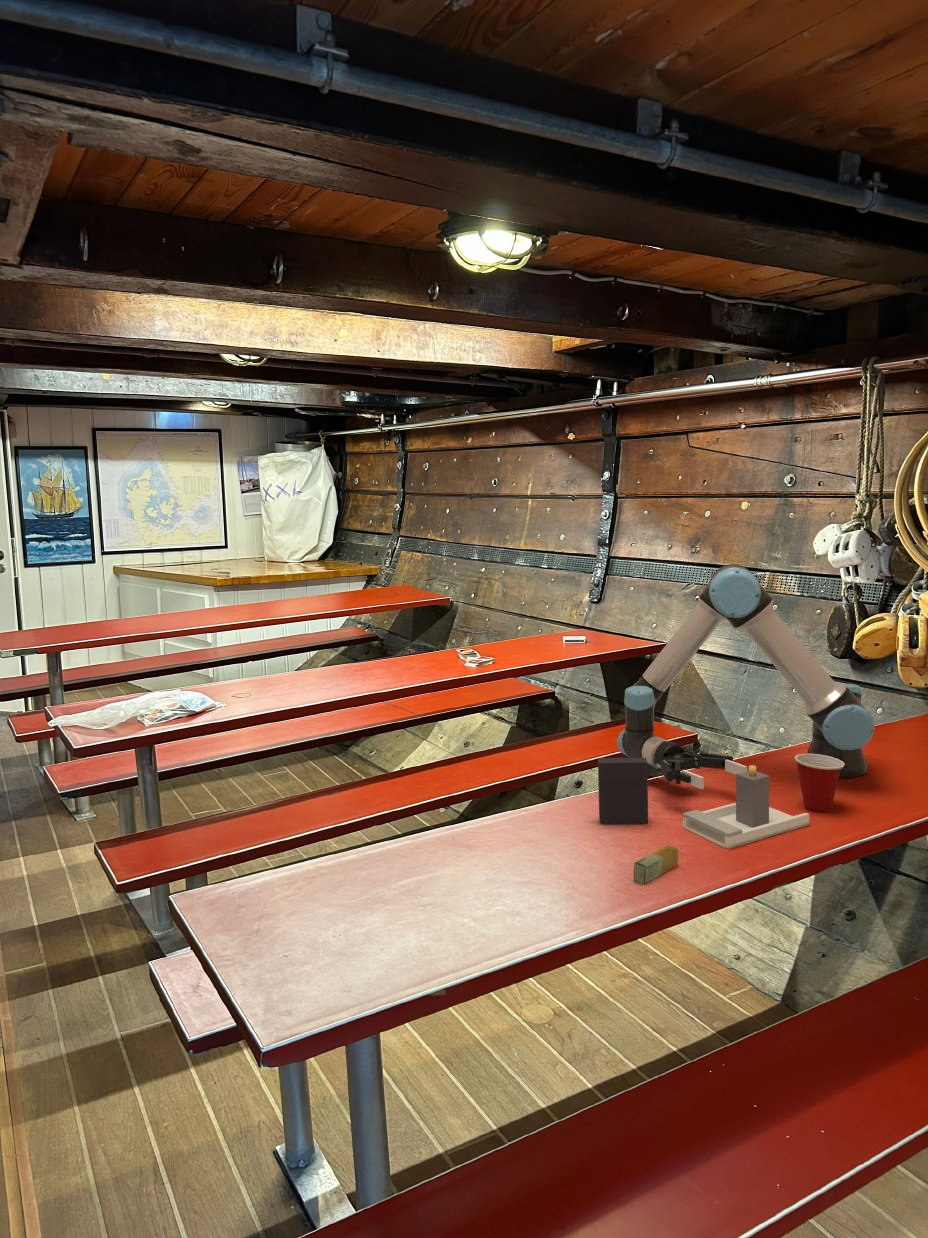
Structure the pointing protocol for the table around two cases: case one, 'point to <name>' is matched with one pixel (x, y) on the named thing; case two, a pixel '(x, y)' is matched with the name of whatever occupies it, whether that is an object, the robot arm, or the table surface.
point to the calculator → (623, 790)
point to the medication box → (655, 864)
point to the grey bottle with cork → (752, 798)
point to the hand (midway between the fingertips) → (724, 777)
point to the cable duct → (738, 825)
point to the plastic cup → (818, 780)
